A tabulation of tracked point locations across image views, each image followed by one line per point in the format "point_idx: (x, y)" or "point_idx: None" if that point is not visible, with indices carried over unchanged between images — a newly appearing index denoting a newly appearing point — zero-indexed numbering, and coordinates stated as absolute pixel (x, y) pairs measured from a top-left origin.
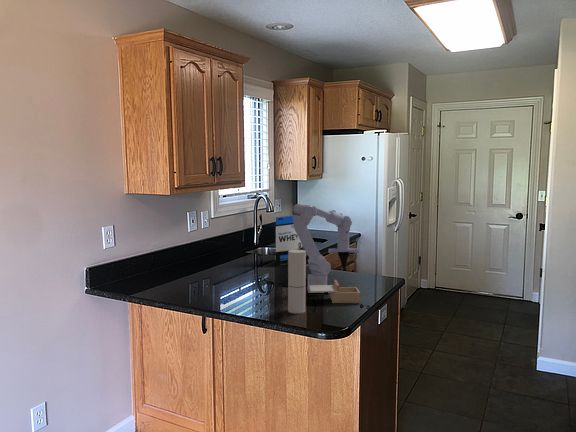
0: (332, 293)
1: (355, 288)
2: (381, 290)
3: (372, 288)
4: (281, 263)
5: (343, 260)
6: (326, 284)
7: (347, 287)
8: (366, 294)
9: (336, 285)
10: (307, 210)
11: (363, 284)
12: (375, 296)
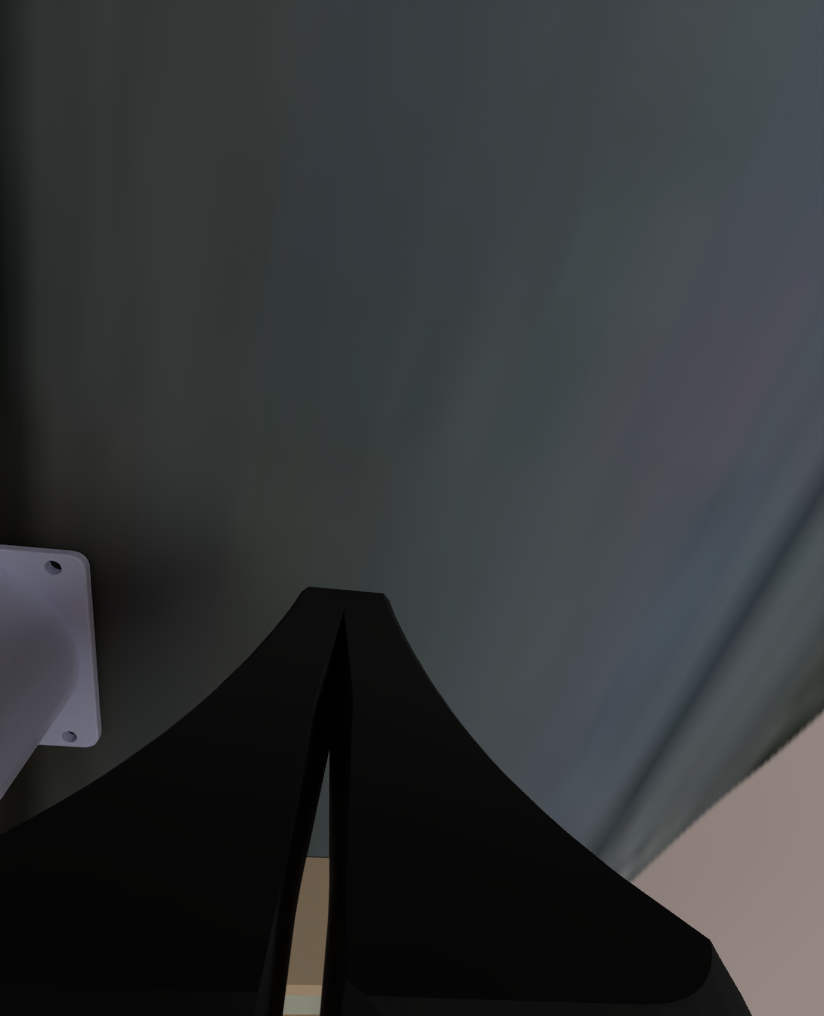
0: None
1: None
2: (817, 621)
3: (764, 518)
4: None
5: (347, 742)
6: (14, 777)
7: (286, 994)
8: (556, 759)
9: None
10: None
11: (766, 255)
12: (616, 826)
